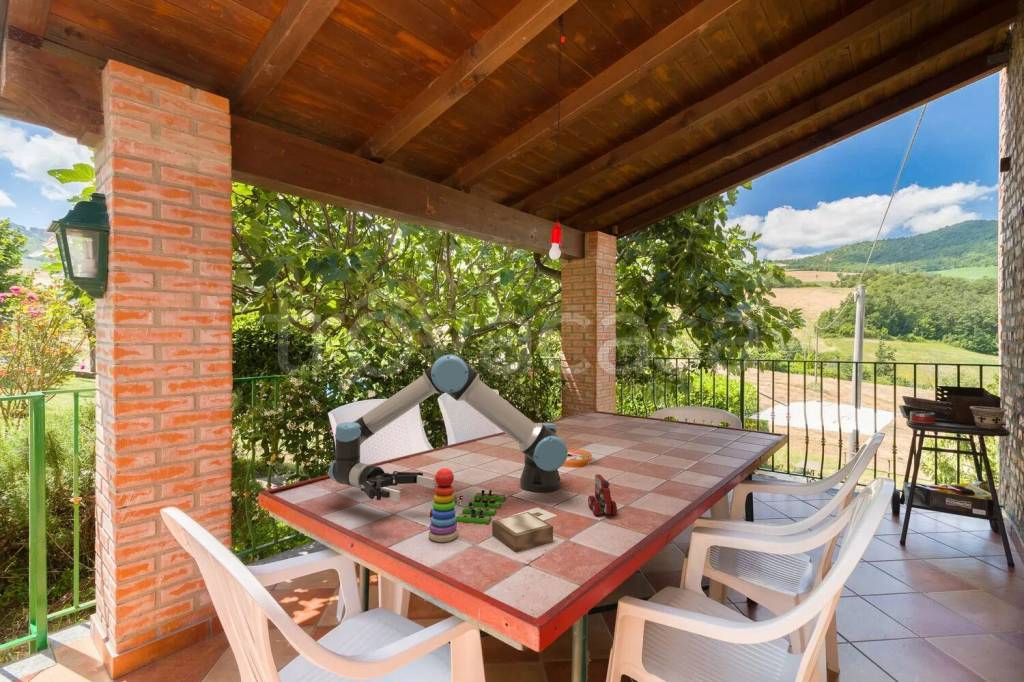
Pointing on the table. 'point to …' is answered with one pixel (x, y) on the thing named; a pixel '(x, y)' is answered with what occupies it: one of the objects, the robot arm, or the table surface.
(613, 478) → the table surface
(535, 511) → the page
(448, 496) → the stacking toy
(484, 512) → the toy garden set
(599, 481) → the toy fire truck
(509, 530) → the pedestal
